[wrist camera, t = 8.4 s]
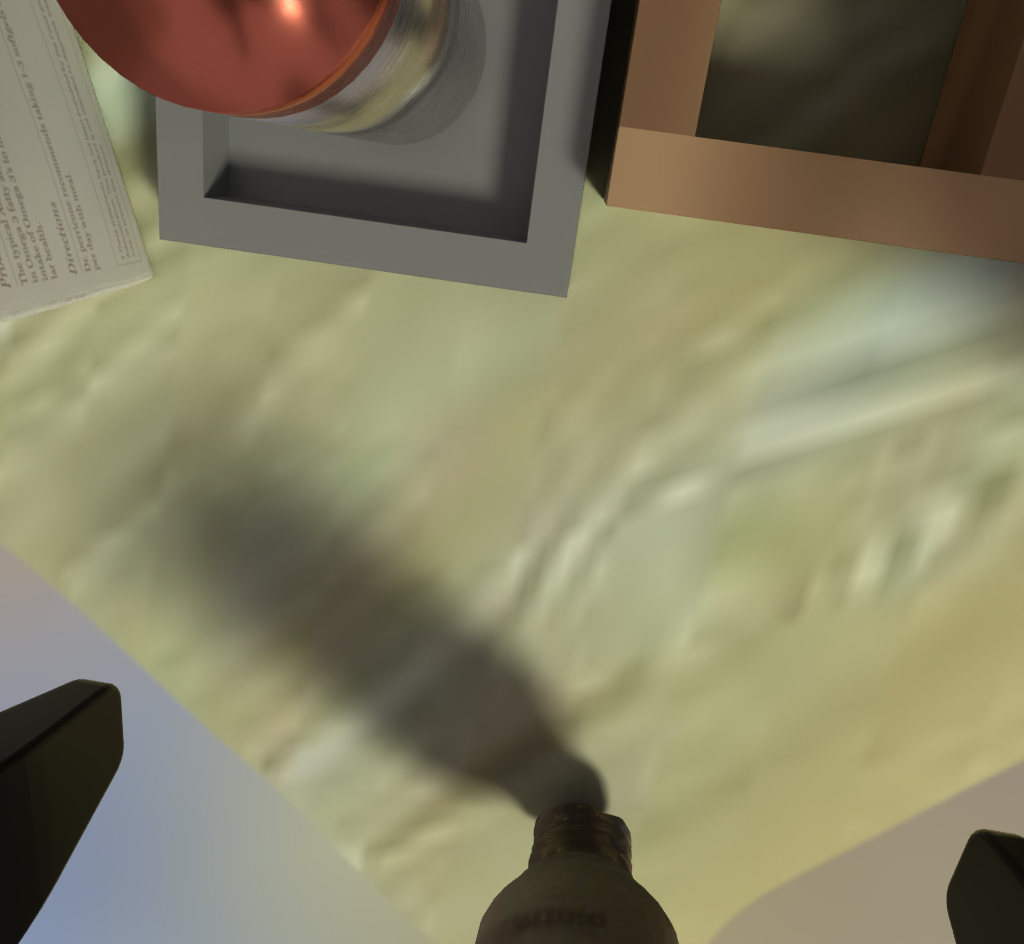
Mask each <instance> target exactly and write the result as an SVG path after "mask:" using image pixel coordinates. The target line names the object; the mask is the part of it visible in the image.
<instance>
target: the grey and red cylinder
mask: <svg viewBox="0 0 1024 944" xmlns="http://www.w3.org/2000/svg"><path fill="white" fill-rule="evenodd" d="M57 2H58V4H59V5H60V7H61V9H62V10H63V12H64V14H65V15H66V17H67V18H68V20H69V21H70V22H71V24H72V25H73V26H74V28H75V29H76V30H77V32H78V33H79V34H80V36H81V37H82V38H83V40H84V41H85V42H86V43H87V44H88V45H89V46H90V47H91V48H92V49H93V50H94V51H95V52H96V53H97V55H98V56H99V57H100V58H101V59H102V60H104V61H105V62H106V63H107V64H108V65H110V66H111V67H112V68H113V69H114V70H115V71H117V72H118V73H119V74H120V75H121V76H123V77H124V78H126V79H127V80H129V81H130V82H132V83H133V84H135V85H136V86H138V87H139V88H141V89H143V90H145V91H147V92H149V93H151V94H153V95H155V96H157V97H159V98H161V99H163V100H166V101H169V102H172V103H175V104H178V105H180V106H183V107H187V108H193V109H198V110H203V111H208V112H213V113H219V114H224V115H229V116H235V117H240V118H246V119H251V120H257V121H262V122H268V123H273V124H278V125H284V126H289V127H295V128H300V129H306V130H311V131H317V132H322V133H327V134H333V135H338V136H344V137H349V138H355V139H360V140H366V141H371V142H376V143H382V144H390V145H403V144H412V143H416V142H420V141H423V140H426V139H428V138H431V137H433V136H435V135H436V134H438V133H440V132H442V131H443V130H444V129H446V128H447V127H448V126H450V125H451V124H452V123H453V122H454V121H455V120H456V119H457V118H458V117H459V116H460V115H461V114H462V113H463V111H464V110H465V109H466V107H467V106H468V105H469V103H470V101H471V99H472V98H473V96H474V94H475V92H476V90H477V87H478V85H479V82H480V80H481V76H482V72H483V69H484V63H485V57H486V28H485V22H484V17H483V12H482V9H481V6H480V3H479V0H57Z"/></svg>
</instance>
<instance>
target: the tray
mask: <svg viewBox="0 0 1024 944" xmlns="http://www.w3.org/2000/svg"><path fill="white" fill-rule="evenodd" d="M479 3H480V6H481V9H482V12H483V17H484V22H485V28H486V57H485V63H484V69H483V72H482V76H481V80H480V82H479V85H478V87H477V90H476V92H475V94H474V96H473V98H472V99H471V101H470V103H469V105H468V106H467V107H466V109H465V110H464V111H463V113H462V114H461V115H460V116H459V117H458V118H457V119H456V120H455V121H454V122H453V123H452V124H451V125H450V126H448V127H447V128H446V129H444V130H443V131H442V132H440V133H438V134H436V135H435V136H433V137H431V138H428V139H426V140H423V141H420V142H416V143H412V144H403V145H390V144H382V143H376V142H371V141H366V140H360V139H355V138H349V137H344V136H338V135H333V134H327V133H322V132H317V131H311V130H306V129H300V128H295V127H289V126H284V125H278V124H273V123H268V122H262V121H257V120H251V119H246V118H240V117H235V116H229V115H224V114H219V113H213V112H208V111H203V110H198V109H193V108H187V107H183V106H180V105H178V104H175V103H172V102H169V101H166V100H163V99H161V98H159V97H157V96H155V103H156V135H157V168H158V201H159V233H160V239H162V240H169V241H176V242H183V243H190V244H197V245H204V246H211V247H218V248H225V249H231V250H238V251H245V252H252V253H259V254H266V255H273V256H280V257H287V258H294V259H301V260H308V261H315V262H322V263H329V264H336V265H343V266H350V267H357V268H364V269H371V270H378V271H384V272H391V273H398V274H405V275H412V276H419V277H426V278H433V279H440V280H447V281H454V282H461V283H468V284H475V285H482V286H489V287H496V288H503V289H510V290H517V291H524V292H531V293H537V294H544V295H551V296H558V297H565V298H567V293H568V287H569V281H570V274H571V268H572V261H573V255H574V248H575V241H576V235H577V228H578V222H579V215H580V208H581V202H582V195H583V188H584V182H585V175H586V169H587V162H588V155H589V149H590V142H591V136H592V129H593V122H594V116H595V109H596V103H597V96H598V89H599V83H600V76H601V69H602V63H603V56H604V50H605V43H606V36H607V30H608V23H609V17H610V10H611V3H612V0H479Z"/></svg>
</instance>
